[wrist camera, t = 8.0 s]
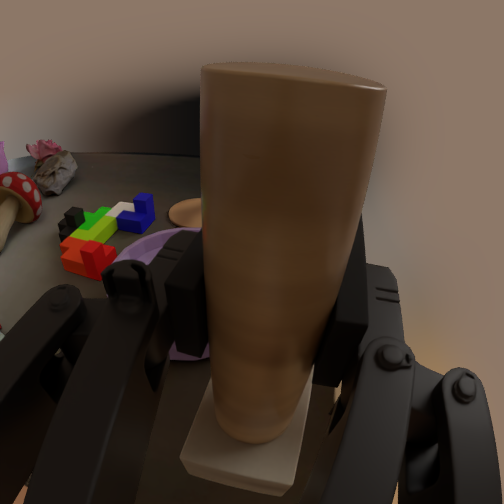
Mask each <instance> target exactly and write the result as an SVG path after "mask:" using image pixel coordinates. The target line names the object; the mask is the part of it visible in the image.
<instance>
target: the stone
mask: <svg viewBox="0 0 504 504" xmlns="http://www.w3.org/2000/svg"><path fill="white" fill-rule="evenodd" d="M77 168H78V166H77V165H76V161H75V160H74V159H73V157H72V155H71V154H70V152H69V151H66V150H64V151H61V152H57V153H56V154H55V155H53V156H51V157H50V158H48V159H47V160H46V161H45V163H44V164H43V165H42V166H41V167H40V168H39V170H38V172H37V173H36V175H35V176H34V178H33V181H34V182H35V183H36V184H37V185H38V187H39V188H40V189H41V191H42V193H43V194H44V195H51V194H57V195H60V194H61V193H62V190H63V188H65V186H66V185H67V184H68V183H69V181H70V180H72V179H73V178H74V175H75V171H76V169H77Z"/></svg>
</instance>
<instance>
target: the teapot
mask: <svg viewBox="0 0 504 504" xmlns="http://www.w3.org/2000/svg"><path fill="white" fill-rule="evenodd" d="M3 148H4V141H2V142H0V174H3V173H6V172H7V171H8V163H7V159H6V156H5V153H4V151H3Z"/></svg>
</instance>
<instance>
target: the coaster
mask: <svg viewBox="0 0 504 504" xmlns="http://www.w3.org/2000/svg"><path fill="white" fill-rule="evenodd" d="M169 219H170V221H171V222H172V223H173V224H175V225H176V226H178V227H195V228H202V213H201V198H196V199H189V200H184V201H181V202H179V203H177V204H175V205H174V206H173V207H172V208H171V209H170V211H169Z"/></svg>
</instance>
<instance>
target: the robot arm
mask: <svg viewBox="0 0 504 504" xmlns="http://www.w3.org/2000/svg"><path fill="white" fill-rule="evenodd" d="M363 233H364V232H363V222H362V212H361V216H360V220H359V224H358V228H357V231H356V235H355V239H354V242H353V246H352V249H351V253H350V256H349V260H348V263H347V267H346V270H345V273H344V277H343V280H342V283H341V286H340V290H339V293H338V296H337V299H336V302H335V305H334V308H333V311H332V314H331V317H330V320H329V323H328V326H327V329H326V332H325V335H324V337H323V340H322V343H321V346H320V349H319V351H318V354H317V357H316V360H315V363H314V369H313V376H312V382H311V383H312V384H317V385H323V386H329V387H336V388H337V387H338V386H339V384H340V382H341V380H342V387H341V394H340V396H339V397H338V399H337V401H336V402H335V404H334V406H333V407H332V409H331V411H330V412H329V414H330V415H331V418H330V422H329V425H328V428H327V431H326V433H325V436H324V439H323V442H322V445H321V448H320V451H319V453H318V456H317V459H316V461H315V464H314V467H313V469H312V472H311V475H310V477H309V480H308V482H307V485H306V487H305V490H304V492H303V494H302V497H301V499H300V501H299V504H392V502H393V498H394V494H395V490H396V486H397V482H398V504H502V492H501V480H500V471H499V463H498V456H497V449H496V442H495V437H494V431H493V426H492V421H491V416H490V411H489V407H488V402H487V398H486V394H485V390H484V387H483V385H482V382H481V380H480V379H479V378H478V377H477V376H476V374H475V373H473V372H471V371H470V370H468V369H465V368H460V367H458V368H454V369H451V370H450V371H448V372H447V373H446V374H445V375H441V374H439V373H437V372H435V371H432V370H430V369H428V368H426V367H424V366H422V365H420V364H419V363H418V362H416V361H415V356H414V354H413V352H412V350H411V349H410V347H408V346H407V345H406V344H405V341H404V332H403V323H402V315H401V308H400V304H399V302H400V300H399V294H398V286H397V280H396V278H395V276H394V275H393V273H392V272H391V270H390V269H389V268H388V267H383V266H378V265H373V264H368V263H366V256H365V244H364V234H363ZM100 274H101V277H102V280H103V284H104V287H105V290H106V293H107V296H108V298H106V299H88V298H82V296H81V293H80V291H79V289H78V288H76V287H75V286H73V285H69V284H64V285H58V286H56V287H53V288H51V289H50V290H48V291H47V292H46V293H45V294H44V295H43V296H42V297H41V298H40V299H39V300H38V301H37V302H36V303H35V304H34V305H33V306H32V307H31V308H30V309H29V310H28V311H27V312H26V313H25V314H24V316H23V317H22V318H21V319H20V320H19V321H18V322H17V323H16V324H15V325H14V326H13V327H12V329H11V330H10V331H9V332H8V333H7V334H6V335H5V336H4V338H3V339H2V340H1V341H0V504H13V502H14V501H15V499H16V497H17V496H18V494H19V492H20V491H21V489H22V487H23V486H24V484H25V483H26V481H27V479H28V478H29V476H30V475H31V473H32V471H33V473H32V476H31V479H30V482H29V486H28V489H27V493H26V496H25V499H24V503H23V504H134V503H135V499H136V494H137V490H138V485H139V481H140V477H141V472H142V468H143V464H144V460H145V456H146V452H147V448H148V444H149V440H150V436H151V432H152V428H153V424H154V420H155V416H156V412H157V409H158V405H159V401H160V398H161V394H162V390H163V387H164V383H165V379H166V376H167V372H168V369H169V365H170V356H169V351H170V349H171V347H172V345H173V343H174V341H175V345H176V350H177V352H180V353H184V354H187V355H191V356H194V357H198V358H202V355H203V353H204V351H205V348H206V346H207V344H208V329H207V315H206V299H205V282H204V263H203V241H202V228H201V229H200V231H199V232H193V231H188V230H181V231H179V232H177V233H176V234H174V235H172V236H171V237H170V238H169V239H168V240H167V241H166V243H165V244H164V245H163V248H161V249H160V250H159V252H158V253H157V255H156V256H155V257H154V258H153V260H152V261H151V262H150V263H149V265H146V264H145V263H144V262H142V261H138V260H135V259H127V260H121V261H117V262H114V263H112V264H111V265H109V266H107V267H106V268H105V269H104V270H103V271H102V272H101V273H100ZM59 348H60V349H61V352H60V353H59V354H57V355H54V354H55V353H56V352H57V351H58V349H59Z"/></svg>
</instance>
